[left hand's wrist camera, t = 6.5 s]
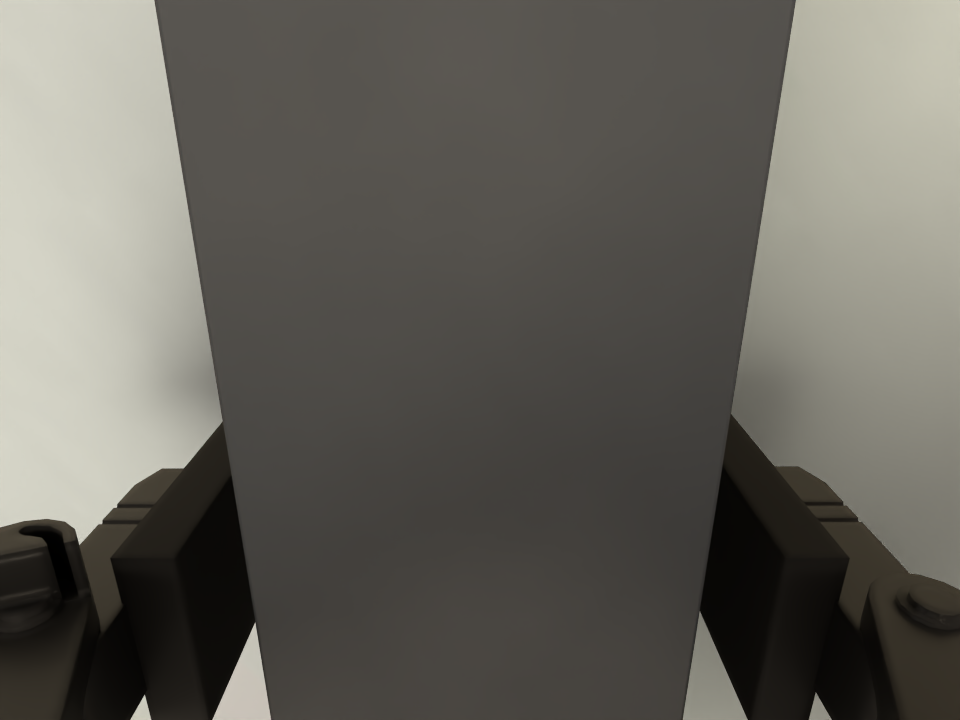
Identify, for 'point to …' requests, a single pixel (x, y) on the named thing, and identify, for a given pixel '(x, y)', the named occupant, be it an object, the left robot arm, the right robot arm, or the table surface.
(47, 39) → the table surface
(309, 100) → the beam
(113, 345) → the table surface
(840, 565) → the left robot arm
